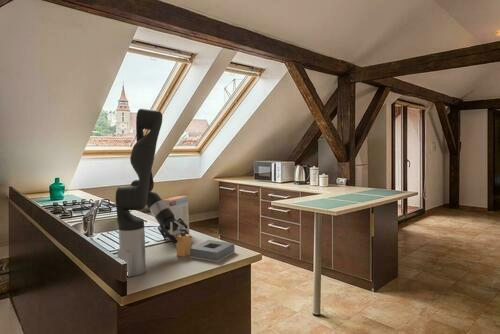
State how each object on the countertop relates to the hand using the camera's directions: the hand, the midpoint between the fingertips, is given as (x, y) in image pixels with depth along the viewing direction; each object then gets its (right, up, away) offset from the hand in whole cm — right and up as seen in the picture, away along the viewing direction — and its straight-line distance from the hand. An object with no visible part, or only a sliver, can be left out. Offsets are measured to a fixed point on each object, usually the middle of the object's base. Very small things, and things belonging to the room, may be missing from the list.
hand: (182, 240), depth 150 cm
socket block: (+13, -6, -1) cm, 15 cm away
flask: (-2, -5, +16) cm, 17 cm away
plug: (0, -6, 0) cm, 6 cm away
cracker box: (-9, -5, +29) cm, 31 cm away
